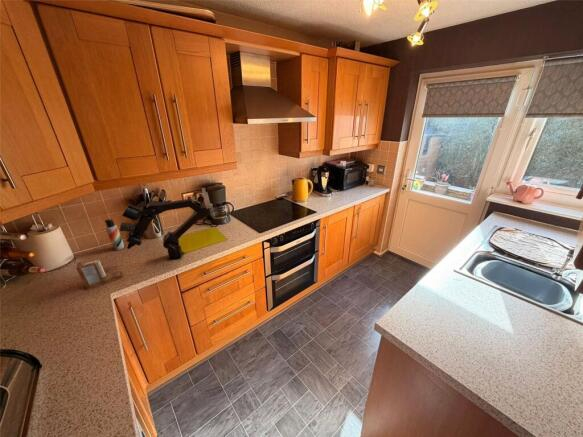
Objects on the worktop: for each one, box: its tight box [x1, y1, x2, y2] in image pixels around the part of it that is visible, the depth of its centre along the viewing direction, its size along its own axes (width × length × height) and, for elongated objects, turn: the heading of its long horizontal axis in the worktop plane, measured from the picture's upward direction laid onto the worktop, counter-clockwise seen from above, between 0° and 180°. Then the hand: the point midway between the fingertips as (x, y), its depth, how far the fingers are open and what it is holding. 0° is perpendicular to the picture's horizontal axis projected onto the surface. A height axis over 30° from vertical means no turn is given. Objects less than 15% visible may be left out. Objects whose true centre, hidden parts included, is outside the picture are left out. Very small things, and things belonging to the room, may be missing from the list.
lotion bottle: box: [104, 218, 125, 251], centre depth 142 cm, size 6×6×20 cm
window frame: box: [76, 261, 122, 290], centre depth 115 cm, size 14×5×13 cm, turn 128°
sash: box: [83, 259, 107, 277], centre depth 115 cm, size 6×1×10 cm, turn 128°
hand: (128, 248), depth 122 cm, fingers closed
